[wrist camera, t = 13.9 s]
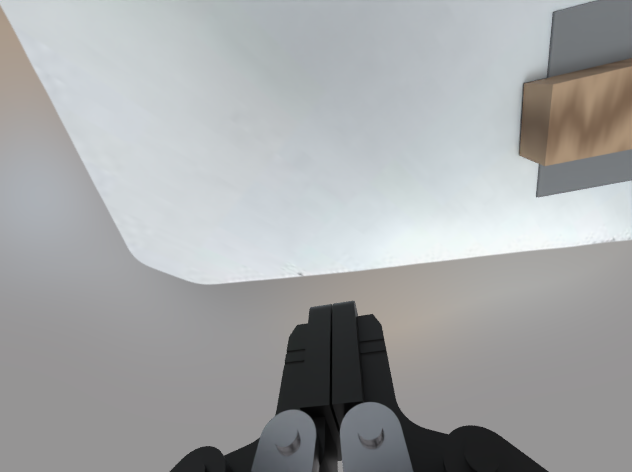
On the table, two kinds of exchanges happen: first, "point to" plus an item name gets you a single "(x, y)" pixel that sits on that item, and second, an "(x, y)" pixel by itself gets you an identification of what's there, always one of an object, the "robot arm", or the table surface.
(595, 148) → the walnut block
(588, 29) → the mat
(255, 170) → the table surface
